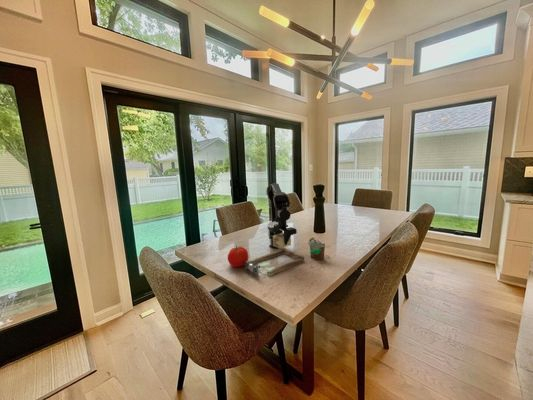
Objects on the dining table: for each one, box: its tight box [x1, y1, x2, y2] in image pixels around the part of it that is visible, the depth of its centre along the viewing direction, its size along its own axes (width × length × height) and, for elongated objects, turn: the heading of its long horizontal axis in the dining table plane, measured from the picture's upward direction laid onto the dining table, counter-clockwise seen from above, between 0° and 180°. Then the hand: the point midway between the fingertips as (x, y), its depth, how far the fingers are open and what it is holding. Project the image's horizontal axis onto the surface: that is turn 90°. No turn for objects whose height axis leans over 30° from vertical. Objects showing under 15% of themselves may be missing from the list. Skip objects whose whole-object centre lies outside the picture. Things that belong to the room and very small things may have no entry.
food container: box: [307, 237, 326, 261], centre depth 128 cm, size 12×6×10 cm, turn 21°
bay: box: [249, 247, 305, 277], centre depth 124 cm, size 18×26×3 cm
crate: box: [273, 232, 292, 250], centre depth 124 cm, size 6×8×6 cm
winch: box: [244, 259, 261, 278], centre depth 113 cm, size 13×6×6 cm, turn 37°
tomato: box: [227, 245, 249, 268], centre depth 122 cm, size 12×12×10 cm
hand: (281, 243), depth 125 cm, fingers closed on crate, 6 cm apart
